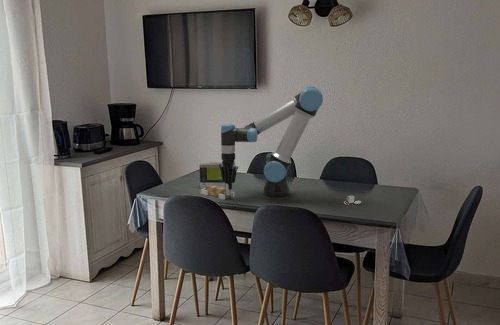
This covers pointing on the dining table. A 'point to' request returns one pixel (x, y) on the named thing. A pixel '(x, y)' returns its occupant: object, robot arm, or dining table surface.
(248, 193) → the dining table surface
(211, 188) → the tan wooden bar
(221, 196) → the guide cap
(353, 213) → the dining table surface
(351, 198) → the teacup and saucer
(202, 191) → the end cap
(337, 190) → the dining table surface
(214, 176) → the tea box
